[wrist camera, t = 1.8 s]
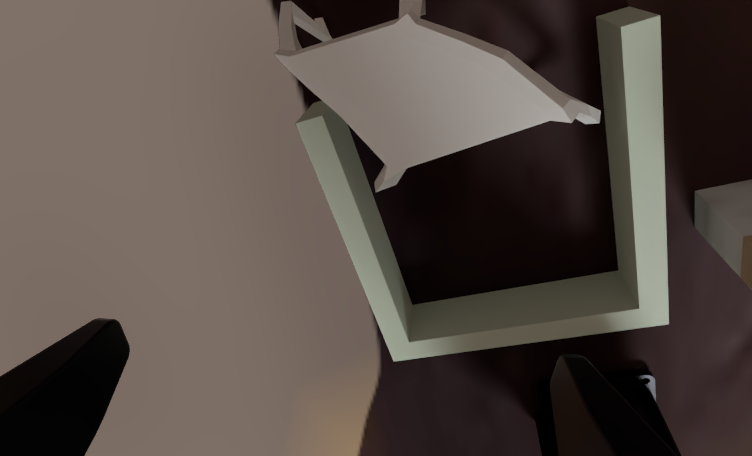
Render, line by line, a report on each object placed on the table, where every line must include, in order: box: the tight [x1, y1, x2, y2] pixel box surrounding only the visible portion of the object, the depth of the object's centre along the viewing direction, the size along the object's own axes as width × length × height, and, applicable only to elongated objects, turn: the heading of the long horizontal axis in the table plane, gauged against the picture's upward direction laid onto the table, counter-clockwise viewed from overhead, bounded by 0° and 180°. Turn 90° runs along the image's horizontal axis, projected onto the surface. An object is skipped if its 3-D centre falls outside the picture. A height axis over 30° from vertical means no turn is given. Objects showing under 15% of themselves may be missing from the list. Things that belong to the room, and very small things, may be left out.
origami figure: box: [274, 0, 601, 192], centre depth 18 cm, size 12×8×5 cm
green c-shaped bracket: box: [296, 6, 669, 361], centre depth 21 cm, size 13×14×3 cm
